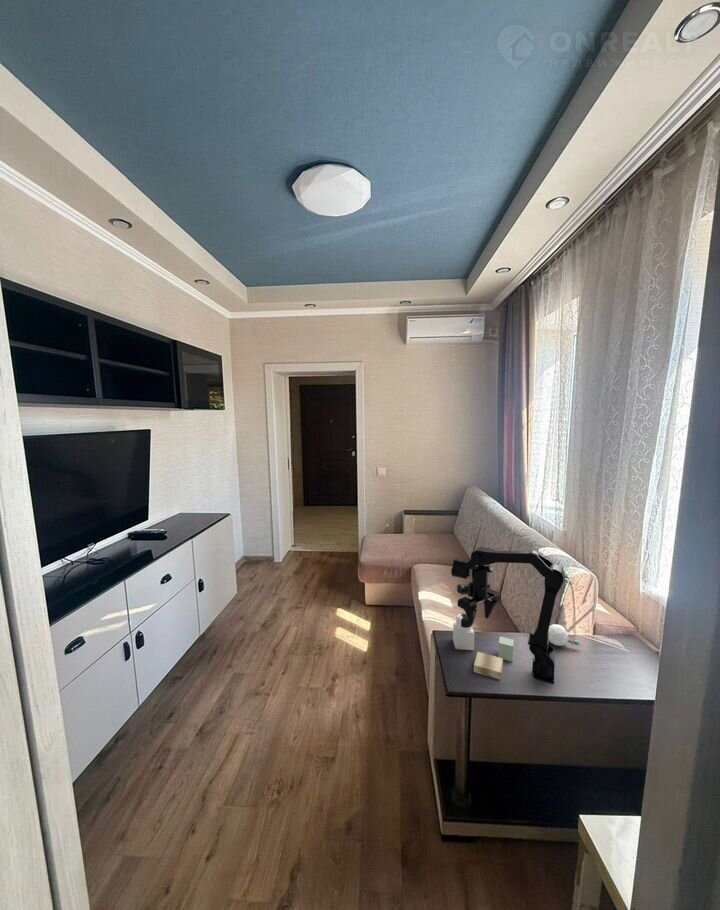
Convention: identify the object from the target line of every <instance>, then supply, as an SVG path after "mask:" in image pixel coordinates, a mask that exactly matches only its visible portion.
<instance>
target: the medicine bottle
mask: <svg viewBox="0 0 720 910" xmlns="http://www.w3.org/2000/svg"><path fill="white" fill-rule="evenodd" d="M452 641H453V645H454V648H455V649H456V650H465V651H474V649H475V631H474V628H473V625H470V623H469V620H468V617H467V615H466V613H458V614H457V615H456V618H455V622H454V623H453V627H452Z"/></svg>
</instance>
